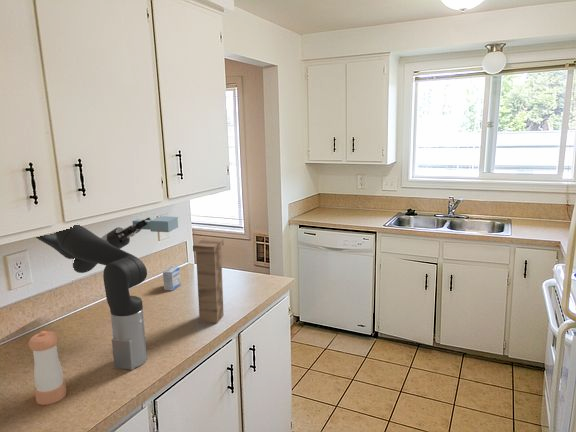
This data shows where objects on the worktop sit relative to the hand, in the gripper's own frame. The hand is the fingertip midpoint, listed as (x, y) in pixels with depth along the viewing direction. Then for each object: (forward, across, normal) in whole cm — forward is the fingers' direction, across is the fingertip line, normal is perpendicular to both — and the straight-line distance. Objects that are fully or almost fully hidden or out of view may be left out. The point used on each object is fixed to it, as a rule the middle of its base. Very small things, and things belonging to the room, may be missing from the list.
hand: (148, 220), depth 158 cm
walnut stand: (+2, 0, +44) cm, 44 cm away
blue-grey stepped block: (+1, 0, +4) cm, 4 cm away
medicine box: (-23, +27, +30) cm, 47 cm away
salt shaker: (-21, -53, +31) cm, 65 cm away
